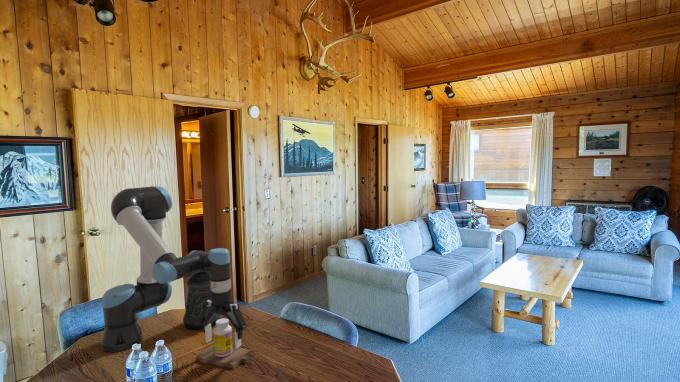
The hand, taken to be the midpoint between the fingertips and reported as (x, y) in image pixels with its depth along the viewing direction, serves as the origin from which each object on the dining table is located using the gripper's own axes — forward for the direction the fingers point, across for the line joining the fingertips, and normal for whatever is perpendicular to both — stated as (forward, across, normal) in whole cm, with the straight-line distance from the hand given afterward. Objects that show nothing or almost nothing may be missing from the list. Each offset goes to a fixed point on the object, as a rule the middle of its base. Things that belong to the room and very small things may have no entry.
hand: (223, 344), depth 140 cm
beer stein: (+5, -28, +23) cm, 37 cm away
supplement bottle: (+4, 0, 0) cm, 4 cm away
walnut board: (+5, +1, 0) cm, 5 cm away
